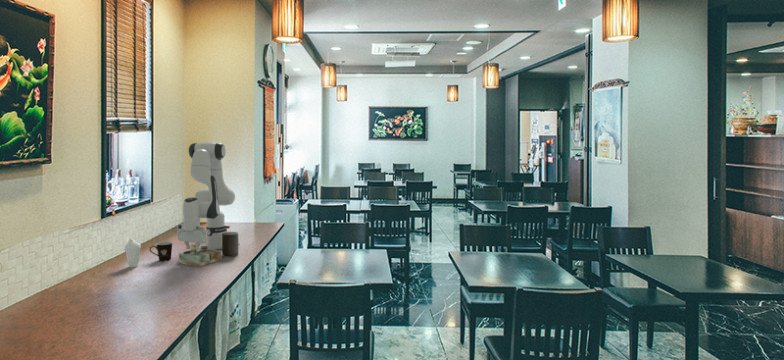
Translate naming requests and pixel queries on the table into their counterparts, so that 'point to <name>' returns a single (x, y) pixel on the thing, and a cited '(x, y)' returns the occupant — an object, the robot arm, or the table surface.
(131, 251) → the soft serve ice cream cone
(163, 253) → the coffee mug
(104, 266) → the table surface
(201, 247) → the bar
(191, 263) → the door board
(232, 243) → the pillar candle
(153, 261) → the table surface
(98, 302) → the table surface
